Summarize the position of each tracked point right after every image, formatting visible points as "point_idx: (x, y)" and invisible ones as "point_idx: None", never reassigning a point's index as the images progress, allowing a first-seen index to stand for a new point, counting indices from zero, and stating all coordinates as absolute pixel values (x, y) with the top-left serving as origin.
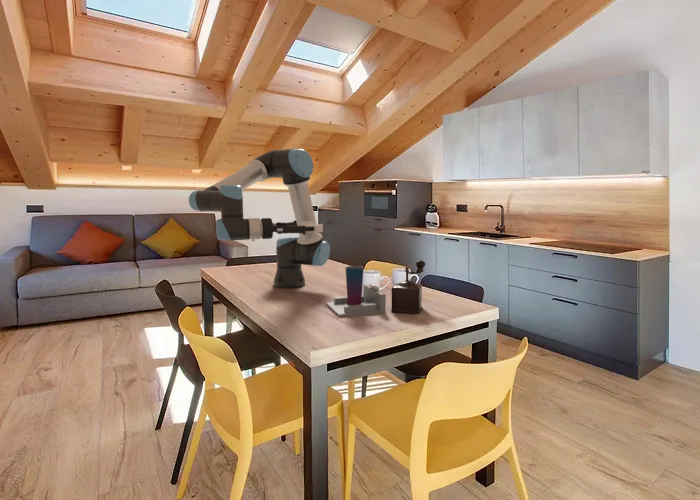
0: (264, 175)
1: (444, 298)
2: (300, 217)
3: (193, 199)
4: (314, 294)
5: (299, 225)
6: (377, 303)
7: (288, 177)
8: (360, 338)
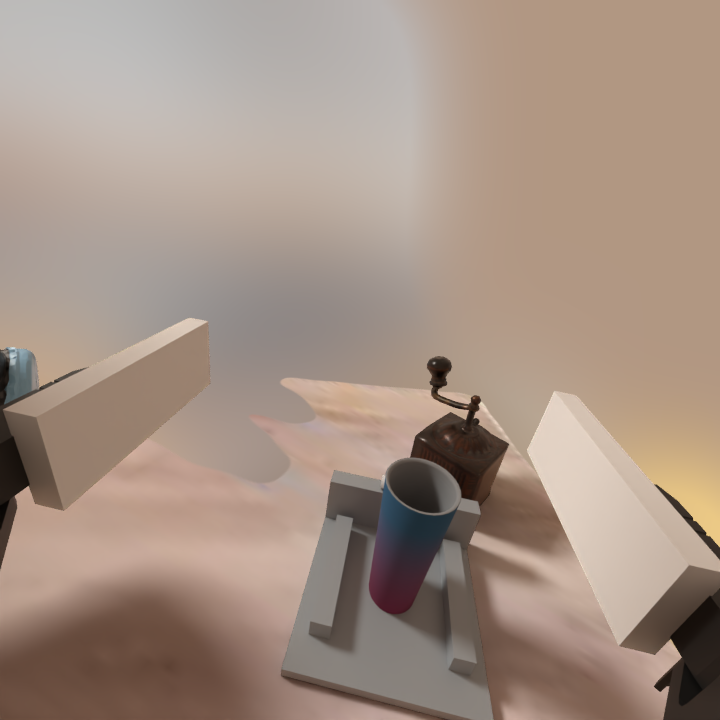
0: None
1: (388, 399)
2: None
3: None
4: (86, 626)
5: (81, 441)
6: (446, 533)
7: None
8: None
